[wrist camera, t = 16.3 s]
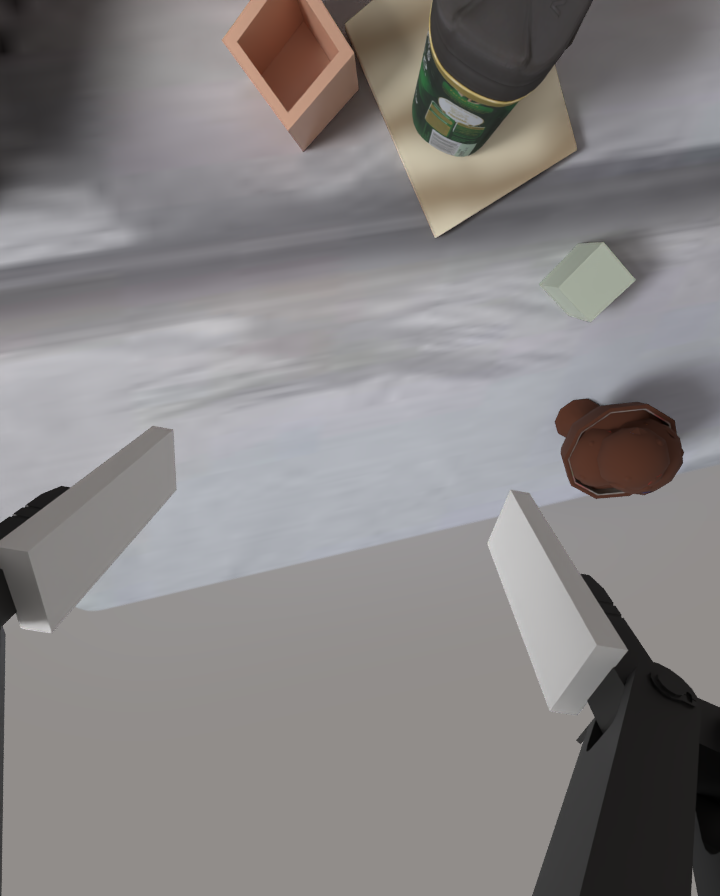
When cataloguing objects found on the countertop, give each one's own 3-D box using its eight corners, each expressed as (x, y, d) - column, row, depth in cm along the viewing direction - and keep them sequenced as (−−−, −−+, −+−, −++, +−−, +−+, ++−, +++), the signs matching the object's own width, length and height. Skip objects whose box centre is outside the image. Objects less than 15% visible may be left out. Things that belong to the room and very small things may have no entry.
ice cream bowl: (520, 450, 50) (572, 522, 36) (555, 368, 45) (629, 416, 31) (598, 464, 50) (677, 540, 37) (641, 384, 45) (750, 438, 32)
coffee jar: (448, -9, 31) (530, -322, 14) (533, 42, 32) (701, -193, 15) (396, 132, 35) (411, 20, 18) (472, 173, 36) (552, 102, 19)
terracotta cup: (250, 79, 34) (221, 40, 28) (305, 7, 32) (287, -53, 26) (303, 152, 37) (287, 130, 30) (358, 89, 34) (354, 52, 28)
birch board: (345, 31, 33) (344, 23, 32) (502, -100, 29) (507, -114, 28) (434, 238, 39) (436, 237, 38) (571, 152, 36) (577, 149, 35)
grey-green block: (538, 284, 41) (558, 287, 36) (577, 243, 39) (603, 242, 35) (567, 315, 42) (590, 322, 38) (607, 277, 40) (635, 280, 36)
